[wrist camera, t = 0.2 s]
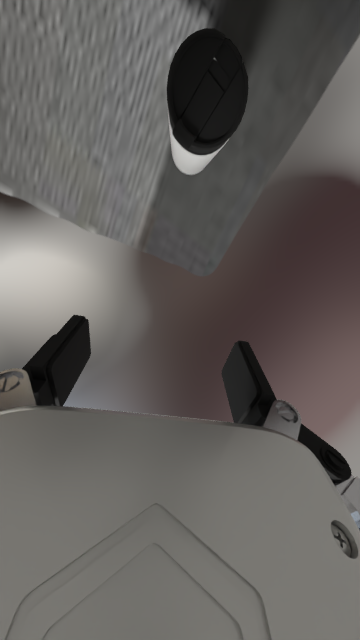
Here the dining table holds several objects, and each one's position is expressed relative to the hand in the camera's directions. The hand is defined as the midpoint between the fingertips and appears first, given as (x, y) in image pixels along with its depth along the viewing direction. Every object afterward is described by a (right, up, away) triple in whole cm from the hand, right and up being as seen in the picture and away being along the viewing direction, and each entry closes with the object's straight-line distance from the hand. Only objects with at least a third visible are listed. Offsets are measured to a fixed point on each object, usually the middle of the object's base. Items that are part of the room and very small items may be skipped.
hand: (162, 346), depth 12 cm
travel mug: (+3, +29, +18) cm, 35 cm away
